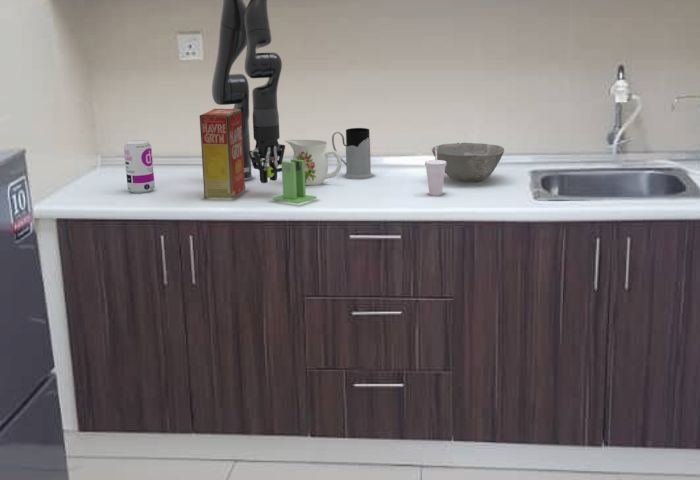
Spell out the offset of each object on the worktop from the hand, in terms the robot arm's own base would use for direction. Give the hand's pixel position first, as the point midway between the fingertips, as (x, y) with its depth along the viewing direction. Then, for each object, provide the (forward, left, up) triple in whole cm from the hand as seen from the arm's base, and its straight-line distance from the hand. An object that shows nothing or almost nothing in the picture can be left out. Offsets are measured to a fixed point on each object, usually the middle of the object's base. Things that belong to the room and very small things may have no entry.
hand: (268, 181), depth 290 cm
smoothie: (+40, +29, -5) cm, 49 cm away
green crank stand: (+10, 0, -5) cm, 11 cm away
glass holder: (+2, +38, -5) cm, 38 cm away
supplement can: (-40, -14, -5) cm, 43 cm away
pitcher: (+1, +20, -5) cm, 21 cm away
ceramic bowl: (+38, +51, -5) cm, 64 cm away
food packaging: (-13, -5, -5) cm, 15 cm away
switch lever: (+5, 0, +2) cm, 6 cm away
